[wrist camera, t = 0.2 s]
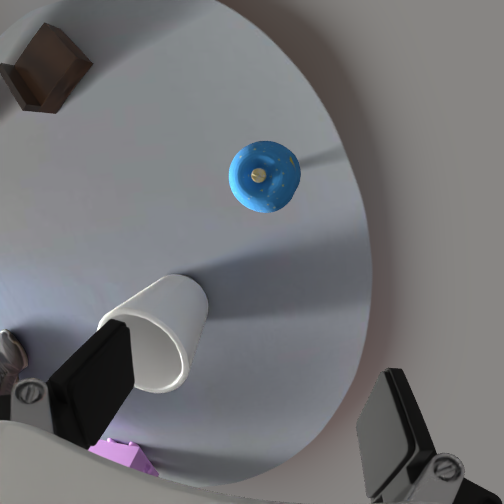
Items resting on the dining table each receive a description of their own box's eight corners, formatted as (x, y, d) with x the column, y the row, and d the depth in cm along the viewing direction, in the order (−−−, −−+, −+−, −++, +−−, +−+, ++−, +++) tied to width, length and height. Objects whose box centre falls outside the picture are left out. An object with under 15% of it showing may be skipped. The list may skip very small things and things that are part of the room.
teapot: (152, 443, 49) (130, 489, 37) (171, 470, 51) (153, 513, 39) (81, 430, 52) (55, 465, 40) (101, 456, 55) (80, 491, 43)
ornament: (291, 200, 33) (291, 228, 19) (245, 189, 33) (211, 209, 19) (301, 154, 32) (311, 146, 17) (255, 144, 32) (228, 128, 18)
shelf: (60, 28, 29) (31, 17, 22) (93, 63, 31) (62, 51, 24) (27, 74, 32) (-3, 68, 25) (56, 113, 33) (22, 110, 26)
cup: (141, 314, 40) (93, 366, 28) (156, 251, 37) (100, 290, 25) (206, 343, 40) (176, 407, 28) (229, 281, 37) (201, 337, 25)
